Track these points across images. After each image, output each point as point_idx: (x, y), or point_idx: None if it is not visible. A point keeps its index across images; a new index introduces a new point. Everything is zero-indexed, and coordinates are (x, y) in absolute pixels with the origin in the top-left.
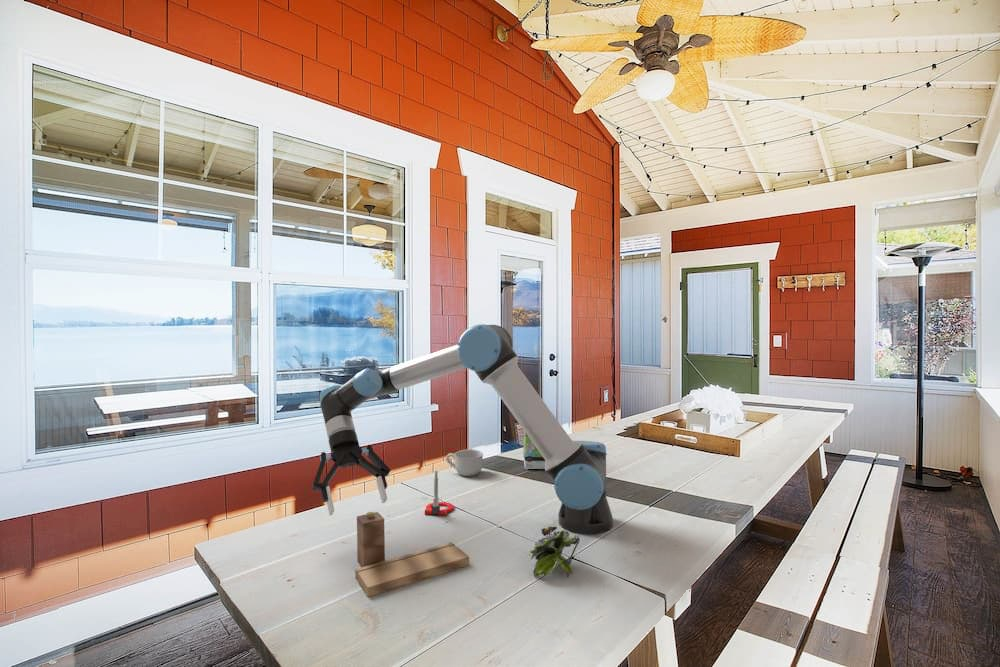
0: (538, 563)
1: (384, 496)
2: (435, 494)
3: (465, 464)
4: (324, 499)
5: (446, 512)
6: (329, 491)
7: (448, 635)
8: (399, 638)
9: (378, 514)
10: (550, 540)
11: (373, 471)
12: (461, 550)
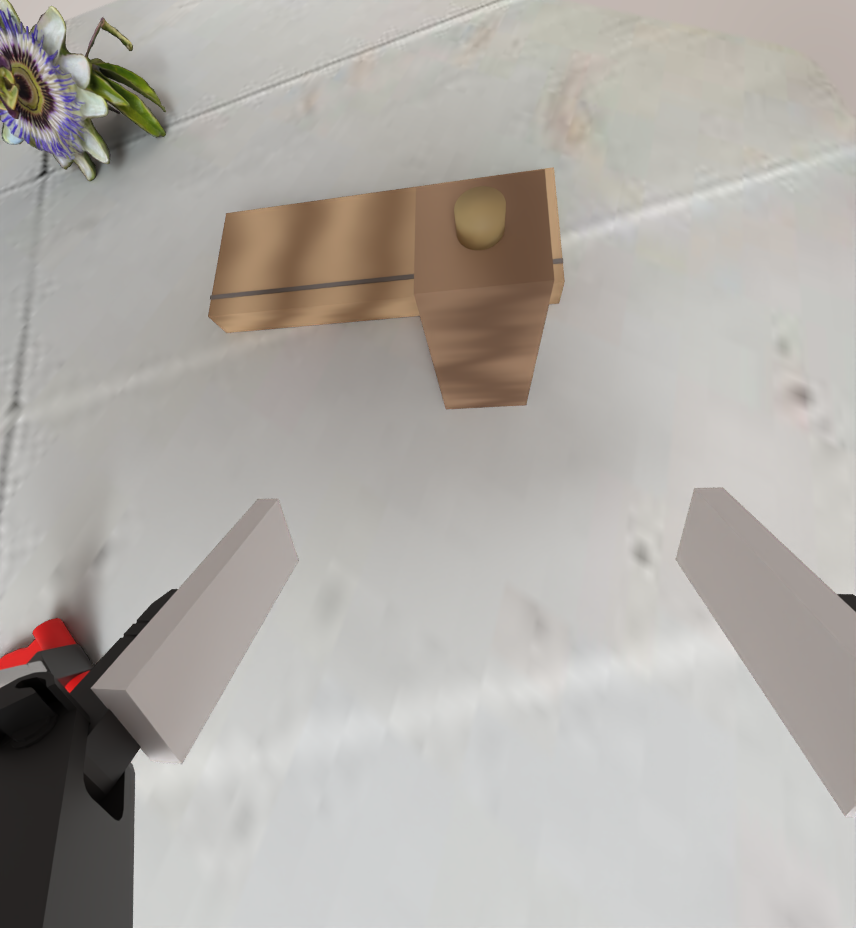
0: (131, 93)
1: (266, 509)
2: None
3: None
4: (853, 598)
5: (45, 624)
6: (853, 638)
7: (434, 26)
8: (527, 41)
9: (422, 253)
10: (46, 14)
11: (83, 863)
12: (219, 253)
